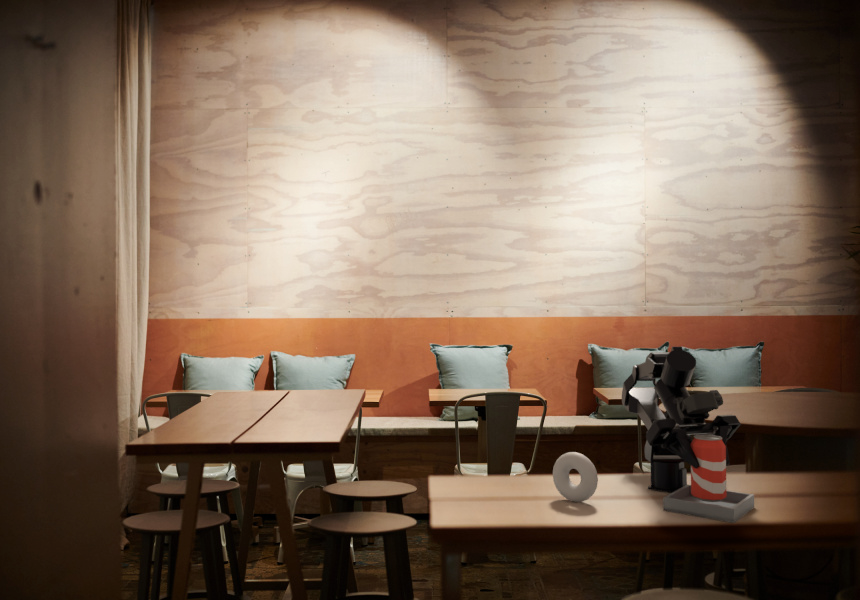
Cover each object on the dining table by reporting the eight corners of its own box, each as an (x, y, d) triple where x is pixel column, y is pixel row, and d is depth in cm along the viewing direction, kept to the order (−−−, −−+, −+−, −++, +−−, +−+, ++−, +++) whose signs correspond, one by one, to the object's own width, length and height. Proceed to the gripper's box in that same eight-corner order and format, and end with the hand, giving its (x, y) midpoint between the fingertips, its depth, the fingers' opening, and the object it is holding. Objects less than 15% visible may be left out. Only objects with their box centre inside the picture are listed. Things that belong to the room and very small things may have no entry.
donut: (601, 504, 138) (600, 454, 138) (592, 507, 135) (592, 456, 136) (558, 495, 145) (558, 447, 145) (549, 498, 142) (548, 450, 142)
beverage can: (711, 505, 130) (710, 441, 130) (684, 497, 135) (683, 435, 135) (733, 500, 133) (732, 438, 133) (705, 492, 138) (705, 433, 138)
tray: (663, 510, 133) (663, 497, 133) (687, 496, 143) (687, 484, 143) (734, 523, 125) (733, 509, 125) (754, 507, 134) (754, 494, 135)
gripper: (653, 378, 136) (688, 445, 125) (733, 375, 140) (774, 439, 130) (631, 412, 143) (663, 478, 132) (709, 408, 148) (746, 471, 137)
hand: (712, 466), depth 133 cm, fingers closed on beverage can, 6 cm apart
